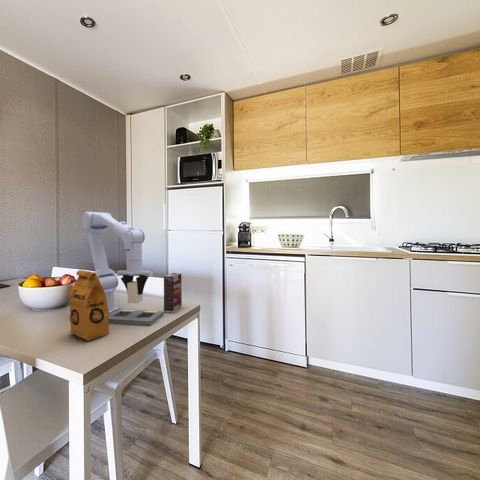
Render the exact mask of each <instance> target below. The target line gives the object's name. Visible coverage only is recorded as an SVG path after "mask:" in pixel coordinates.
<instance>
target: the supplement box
mask: <svg viewBox="0 0 480 480" xmlns="http://www.w3.org/2000/svg"><path fill="white" fill-rule="evenodd" d="M182 290H183V289H182V273H180V272H173V273H168V274H167V275H164V276H163V311H164V313H169V314H173V313H175V312H176V311H179V309H181V308H182V307H181V306H183V305H182V304H183V302H182V295H183V294H182ZM180 307H181V308H180Z"/></svg>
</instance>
